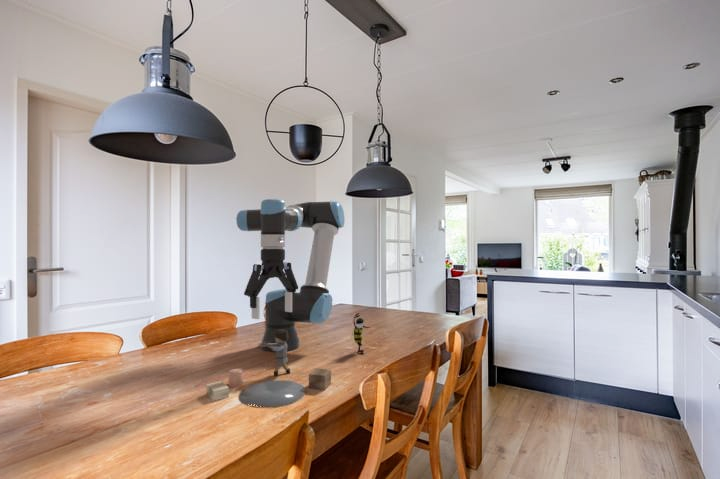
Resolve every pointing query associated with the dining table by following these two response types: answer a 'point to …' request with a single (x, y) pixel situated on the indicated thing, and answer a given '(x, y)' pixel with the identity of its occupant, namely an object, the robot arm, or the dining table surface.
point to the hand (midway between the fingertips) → (272, 315)
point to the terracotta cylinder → (235, 377)
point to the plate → (272, 393)
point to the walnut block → (320, 379)
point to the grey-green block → (217, 390)
